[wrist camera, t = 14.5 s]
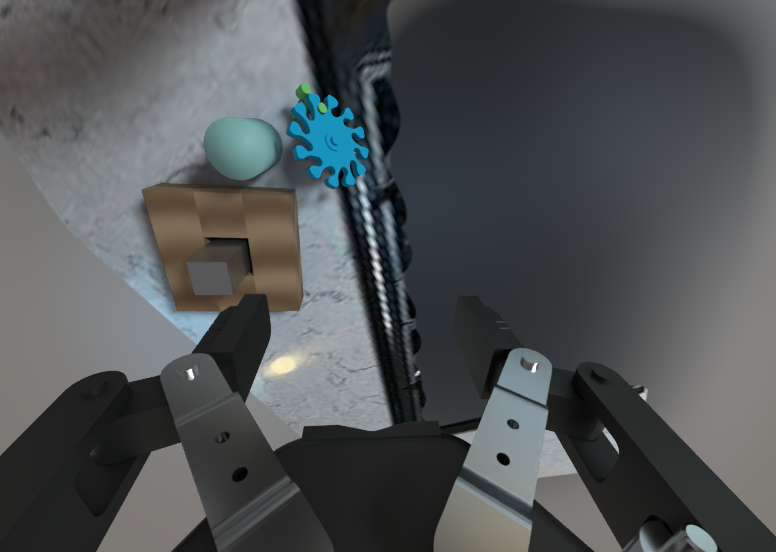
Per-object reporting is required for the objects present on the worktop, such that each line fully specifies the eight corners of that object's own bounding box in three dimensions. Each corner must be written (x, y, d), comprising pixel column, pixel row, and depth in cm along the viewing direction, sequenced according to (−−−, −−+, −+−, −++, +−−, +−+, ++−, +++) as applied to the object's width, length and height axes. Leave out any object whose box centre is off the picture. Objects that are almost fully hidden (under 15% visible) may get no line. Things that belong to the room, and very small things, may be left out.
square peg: (222, 231, 41) (186, 261, 32) (253, 231, 41) (226, 262, 32) (228, 258, 43) (195, 295, 34) (258, 259, 43) (233, 294, 34)
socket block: (161, 183, 37) (141, 189, 34) (295, 188, 39) (289, 195, 36) (191, 295, 45) (177, 310, 41) (303, 296, 46) (299, 310, 43)
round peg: (229, 116, 35) (198, 115, 28) (280, 120, 36) (261, 119, 28) (237, 168, 37) (210, 178, 30) (284, 170, 38) (268, 181, 31)
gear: (383, 171, 38) (322, 199, 32) (354, 182, 42) (295, 209, 36) (345, 74, 34) (268, 85, 28) (318, 98, 38) (246, 112, 32)
